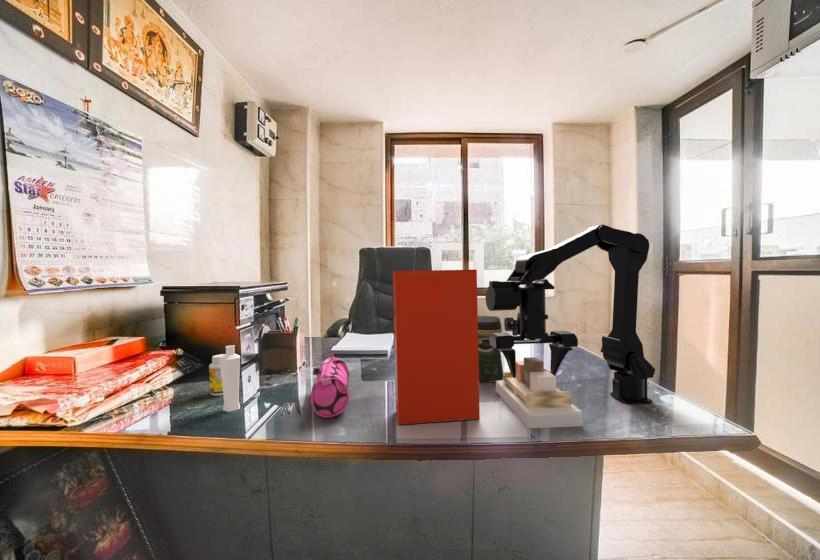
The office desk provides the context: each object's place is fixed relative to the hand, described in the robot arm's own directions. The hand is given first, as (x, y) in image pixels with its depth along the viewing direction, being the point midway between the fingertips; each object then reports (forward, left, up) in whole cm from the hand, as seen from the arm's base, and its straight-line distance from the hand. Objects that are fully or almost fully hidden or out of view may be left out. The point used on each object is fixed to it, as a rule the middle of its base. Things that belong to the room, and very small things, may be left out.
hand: (533, 376), depth 82 cm
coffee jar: (+5, -22, -7) cm, 24 cm away
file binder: (+23, +3, -7) cm, 24 cm away
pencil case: (+48, -8, -7) cm, 49 cm away
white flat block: (0, 0, -7) cm, 7 cm away
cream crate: (0, +5, -2) cm, 5 cm away
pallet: (0, 0, -4) cm, 4 cm away
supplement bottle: (+79, -18, -7) cm, 82 cm away
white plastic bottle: (+71, -6, -7) cm, 72 cm away
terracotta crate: (0, -5, -2) cm, 5 cm away
